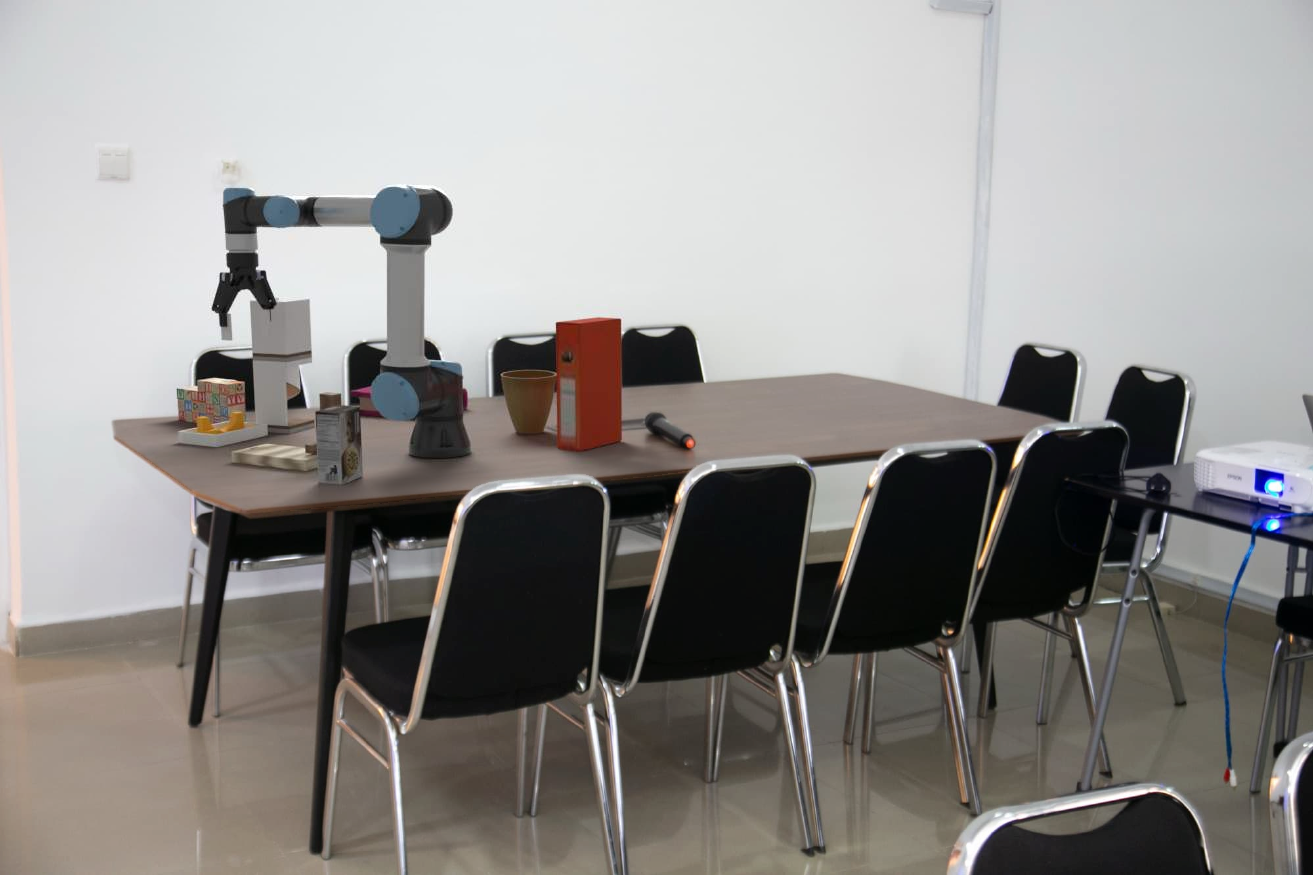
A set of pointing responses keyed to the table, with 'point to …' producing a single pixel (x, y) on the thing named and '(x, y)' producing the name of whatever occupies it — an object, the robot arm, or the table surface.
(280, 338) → the white column with cutout
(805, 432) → the table surface
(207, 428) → the pipe clamp
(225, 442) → the clamp rest frame
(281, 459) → the pine board
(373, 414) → the book
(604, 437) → the file binder
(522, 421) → the plant pot
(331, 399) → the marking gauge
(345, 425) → the printed food box
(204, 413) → the stack of blocks
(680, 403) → the table surface
